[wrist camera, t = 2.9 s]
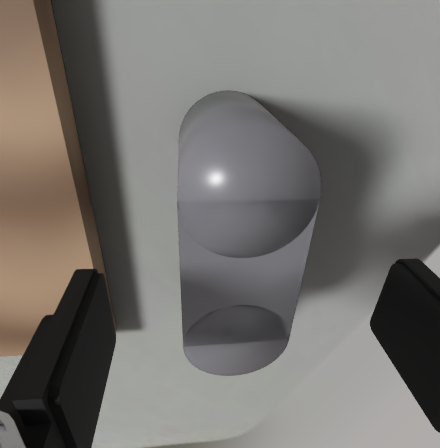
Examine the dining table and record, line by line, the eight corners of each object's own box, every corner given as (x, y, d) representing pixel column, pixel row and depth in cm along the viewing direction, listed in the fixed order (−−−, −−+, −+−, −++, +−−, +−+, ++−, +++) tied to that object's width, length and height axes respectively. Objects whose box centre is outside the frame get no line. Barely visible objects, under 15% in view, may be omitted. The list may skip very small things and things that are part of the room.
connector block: (177, 89, 12) (173, 126, 7) (278, 91, 12) (336, 127, 8) (184, 311, 18) (185, 406, 14) (252, 307, 19) (275, 398, 14)
